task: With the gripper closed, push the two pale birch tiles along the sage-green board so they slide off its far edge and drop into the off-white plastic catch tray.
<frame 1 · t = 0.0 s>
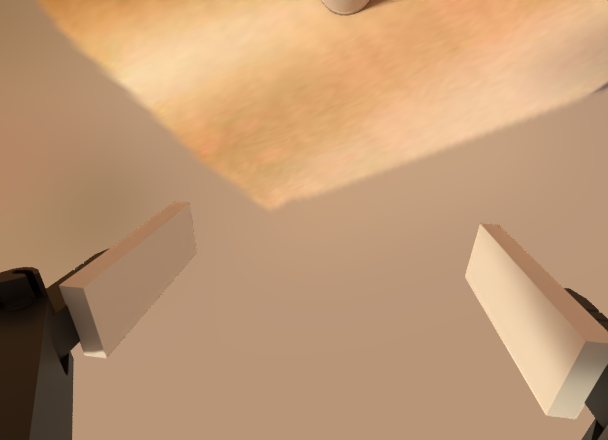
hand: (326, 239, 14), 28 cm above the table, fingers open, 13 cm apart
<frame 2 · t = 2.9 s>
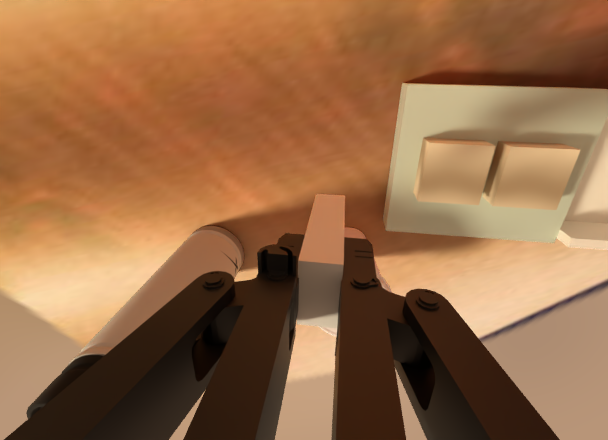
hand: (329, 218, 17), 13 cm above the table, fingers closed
smoothie: (348, 242, 32), on the table
board: (474, 161, 27), on the table
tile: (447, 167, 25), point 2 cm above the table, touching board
travel mug: (218, 248, 34), on the table
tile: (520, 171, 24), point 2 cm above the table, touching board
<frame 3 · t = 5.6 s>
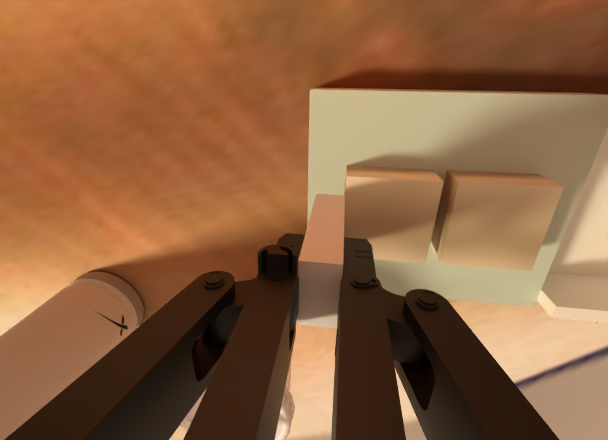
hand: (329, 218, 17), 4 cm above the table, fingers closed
smoothie: (271, 293, 25), on the table
board: (423, 193, 20), on the table
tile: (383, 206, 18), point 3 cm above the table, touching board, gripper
travel mug: (112, 297, 27), on the table
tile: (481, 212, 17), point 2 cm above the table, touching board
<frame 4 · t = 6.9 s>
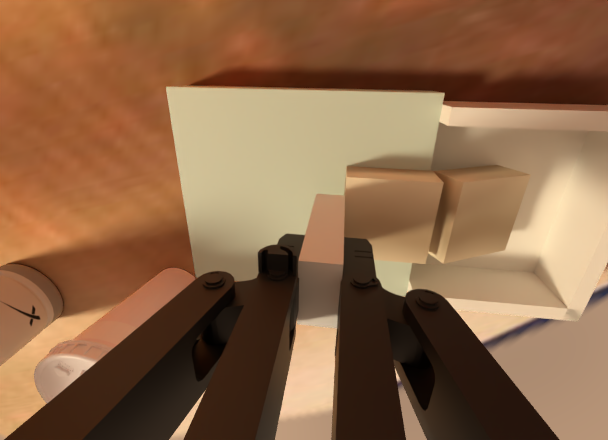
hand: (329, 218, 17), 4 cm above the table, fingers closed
catch tray: (489, 198, 19), on the table
smoothie: (179, 285, 25), on the table
board: (303, 187, 20), on the table
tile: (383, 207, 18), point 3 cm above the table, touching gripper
travel mug: (33, 289, 28), on the table
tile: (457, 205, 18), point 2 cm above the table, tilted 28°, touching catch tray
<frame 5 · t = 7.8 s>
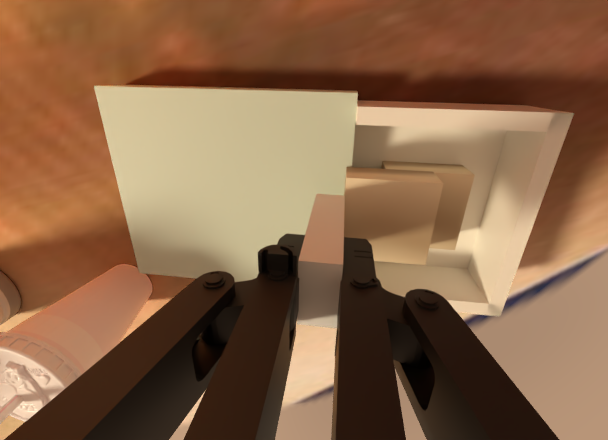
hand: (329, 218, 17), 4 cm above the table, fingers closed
catch tray: (420, 196, 20), on the table
smoothie: (132, 281, 26), on the table
board: (242, 185, 21), on the table
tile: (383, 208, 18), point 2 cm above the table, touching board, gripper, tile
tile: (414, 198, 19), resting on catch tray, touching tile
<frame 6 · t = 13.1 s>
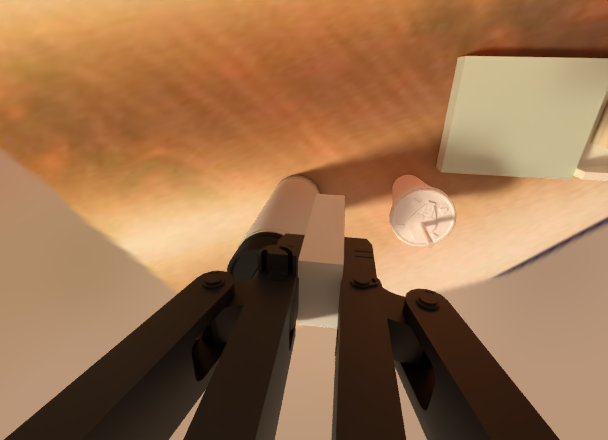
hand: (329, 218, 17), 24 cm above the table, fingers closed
smoothie: (406, 187, 40), on the table
board: (510, 118, 35), on the table
travel mug: (298, 195, 43), on the table
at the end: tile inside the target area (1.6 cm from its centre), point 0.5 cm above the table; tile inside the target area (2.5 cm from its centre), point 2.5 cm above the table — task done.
